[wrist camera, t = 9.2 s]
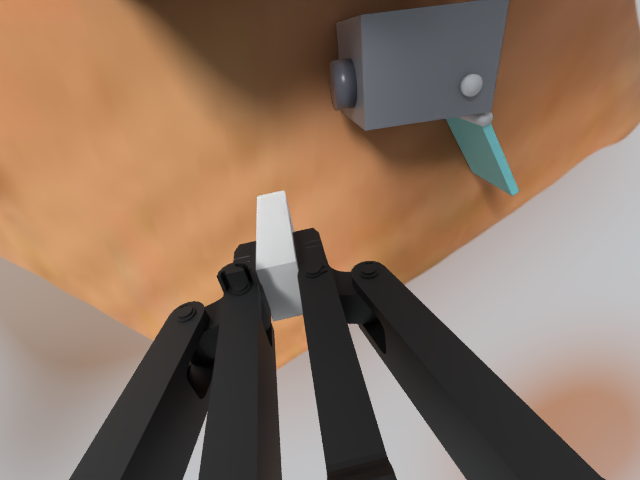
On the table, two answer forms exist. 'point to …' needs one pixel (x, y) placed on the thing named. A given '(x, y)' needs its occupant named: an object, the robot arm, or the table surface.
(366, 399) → the robot arm
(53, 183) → the table surface
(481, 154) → the teal flat slab
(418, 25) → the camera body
